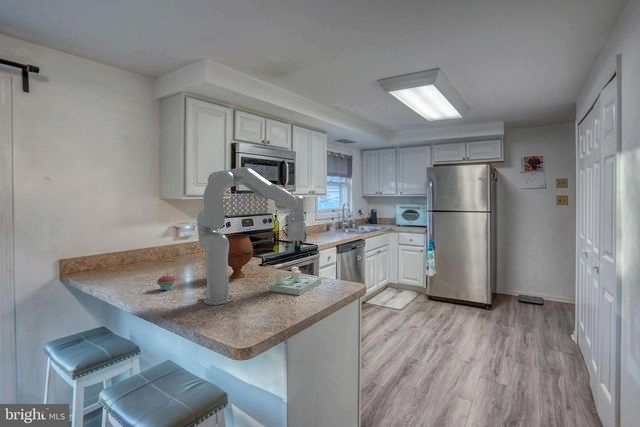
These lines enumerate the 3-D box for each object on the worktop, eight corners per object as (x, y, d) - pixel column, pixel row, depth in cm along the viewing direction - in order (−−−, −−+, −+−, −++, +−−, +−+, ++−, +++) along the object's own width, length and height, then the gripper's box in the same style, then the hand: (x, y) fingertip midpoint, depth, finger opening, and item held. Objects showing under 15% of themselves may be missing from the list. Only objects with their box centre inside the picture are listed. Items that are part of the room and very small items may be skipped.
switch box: (269, 290, 166) (269, 284, 166) (292, 280, 186) (292, 274, 185) (299, 295, 158) (299, 288, 158) (320, 283, 177) (320, 278, 177)
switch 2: (291, 276, 180) (291, 267, 180) (294, 275, 183) (294, 266, 182) (296, 277, 179) (295, 268, 178) (298, 276, 181) (298, 267, 181)
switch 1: (275, 283, 167) (275, 273, 166) (279, 282, 169) (278, 272, 169) (280, 284, 165) (280, 274, 165) (283, 282, 168) (283, 273, 168)
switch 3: (293, 281, 170) (293, 271, 170) (296, 280, 173) (296, 270, 173) (298, 282, 169) (298, 272, 169) (301, 280, 172) (301, 271, 171)
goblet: (235, 283, 182) (233, 238, 180) (214, 278, 193) (212, 236, 192) (260, 275, 197) (259, 234, 195) (240, 271, 208) (239, 232, 207)
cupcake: (165, 287, 176) (164, 264, 175) (179, 287, 174) (178, 265, 173) (153, 291, 167) (152, 268, 166) (168, 292, 165) (167, 269, 165)
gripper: (281, 219, 177) (282, 252, 178) (305, 219, 170) (306, 255, 171) (289, 218, 184) (289, 250, 185) (312, 218, 177) (312, 252, 178)
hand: (297, 252), depth 178 cm, fingers closed
